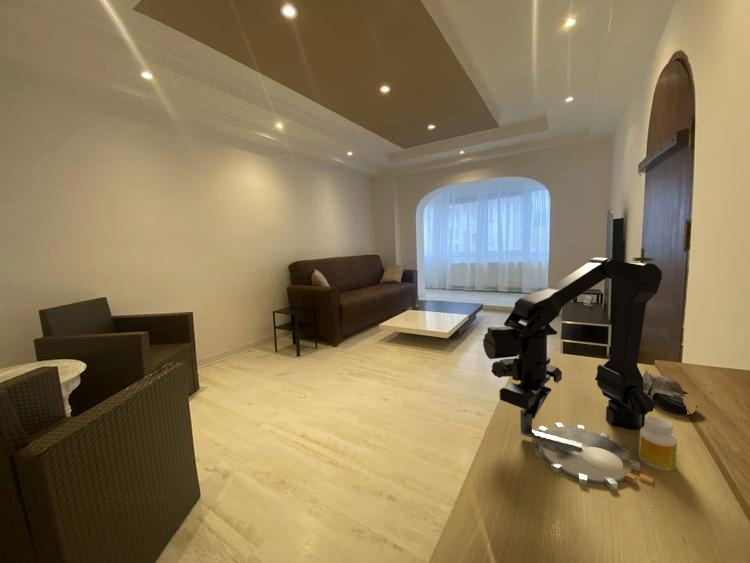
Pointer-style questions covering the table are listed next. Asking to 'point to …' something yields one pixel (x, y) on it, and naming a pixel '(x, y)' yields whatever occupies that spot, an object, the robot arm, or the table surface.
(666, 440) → the supplement bottle
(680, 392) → the caster wheel
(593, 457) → the sprocket
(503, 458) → the table surface
